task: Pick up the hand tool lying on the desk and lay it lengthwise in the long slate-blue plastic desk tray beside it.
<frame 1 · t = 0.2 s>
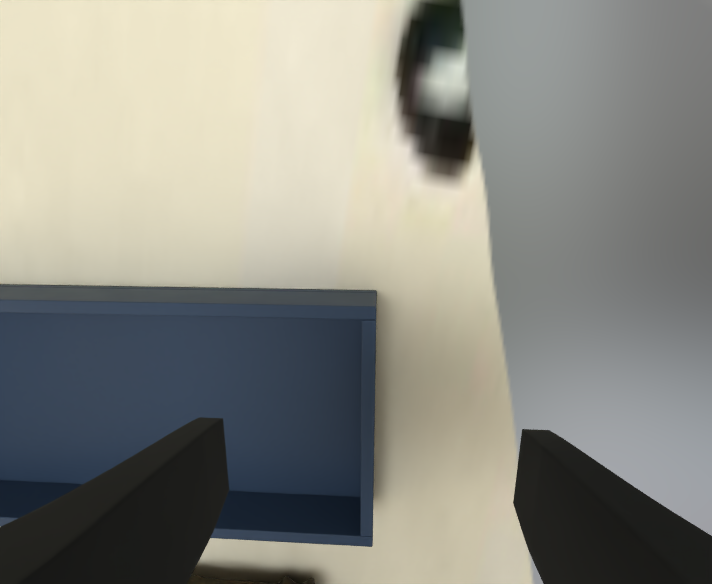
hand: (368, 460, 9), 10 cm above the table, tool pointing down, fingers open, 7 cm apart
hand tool: (173, 579, 23), on the table
desk tray: (144, 394, 20), on the table
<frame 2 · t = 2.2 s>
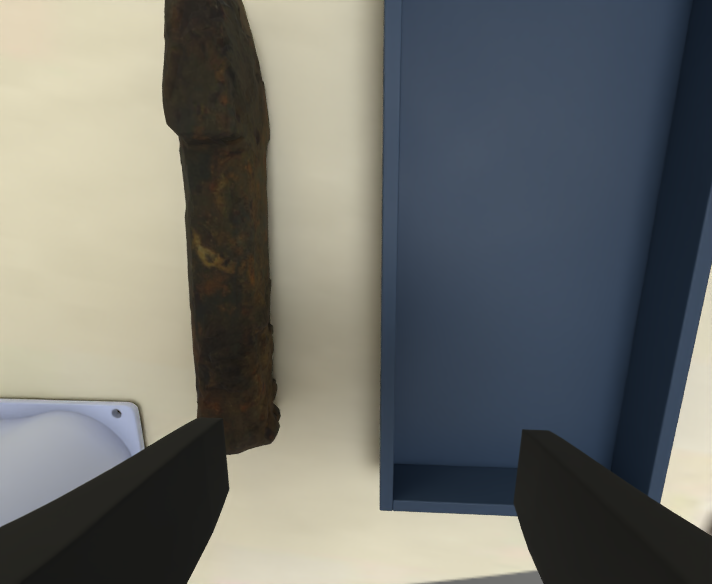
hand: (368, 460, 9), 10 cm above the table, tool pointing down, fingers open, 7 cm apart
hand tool: (237, 230, 18), on the table
desk tray: (517, 229, 17), on the table
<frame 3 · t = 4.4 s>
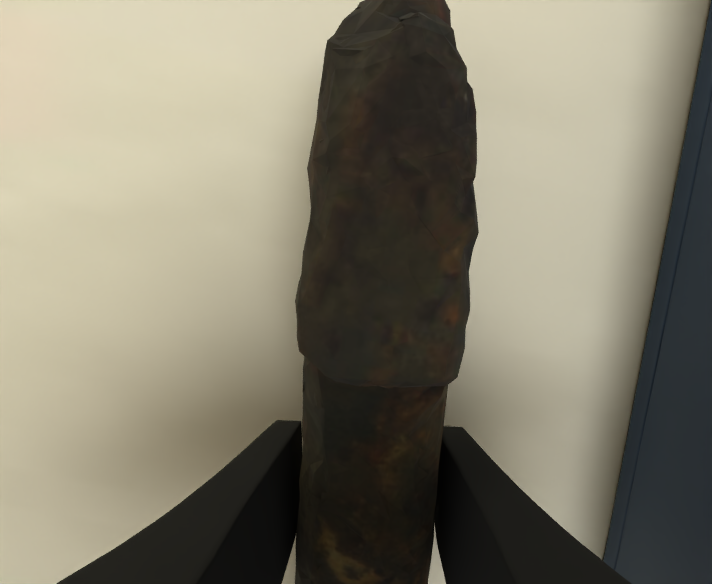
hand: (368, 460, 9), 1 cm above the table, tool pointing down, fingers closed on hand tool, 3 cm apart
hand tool: (352, 421, 11), on the table, touching gripper
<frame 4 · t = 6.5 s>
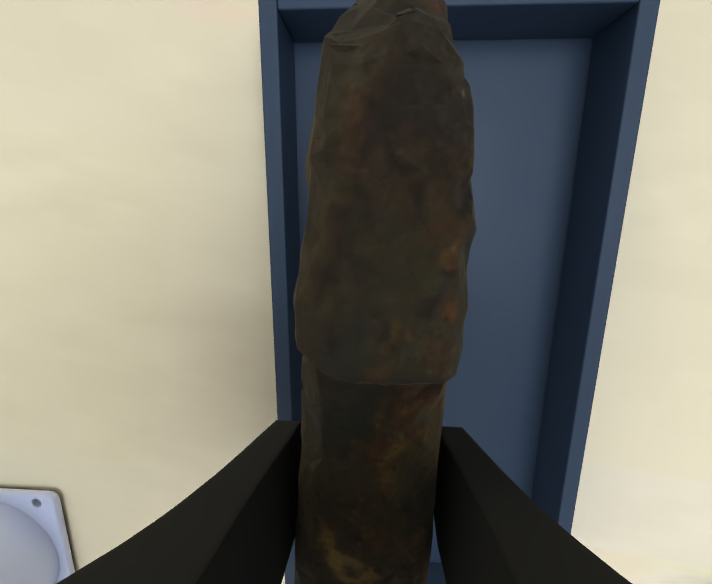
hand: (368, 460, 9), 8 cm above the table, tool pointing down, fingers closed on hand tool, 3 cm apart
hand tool: (351, 420, 10), point 7 cm above the table, touching gripper
desk tray: (423, 340, 17), on the table
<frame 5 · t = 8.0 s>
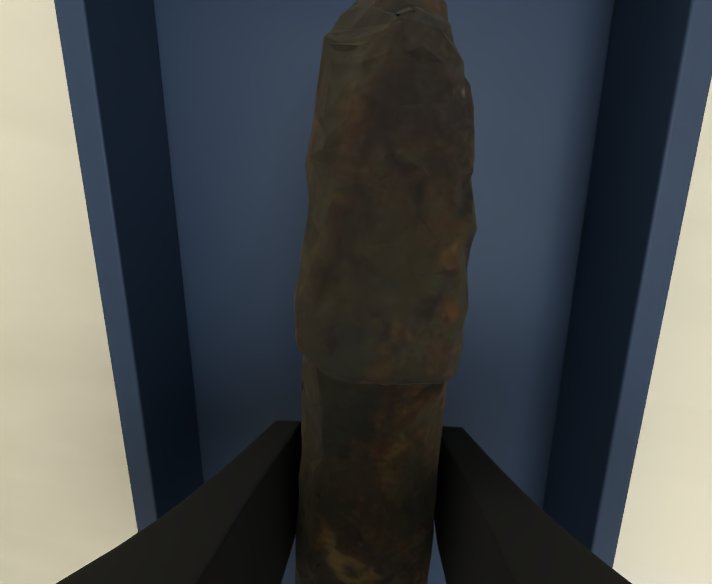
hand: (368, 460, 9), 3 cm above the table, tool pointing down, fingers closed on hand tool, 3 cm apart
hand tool: (352, 420, 10), point 1 cm above the table, touching gripper
desk tray: (371, 397, 12), on the table
when the fingers open (2 cm above the table, at t = 8.7 s): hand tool stays where it is, resting on desk tray.
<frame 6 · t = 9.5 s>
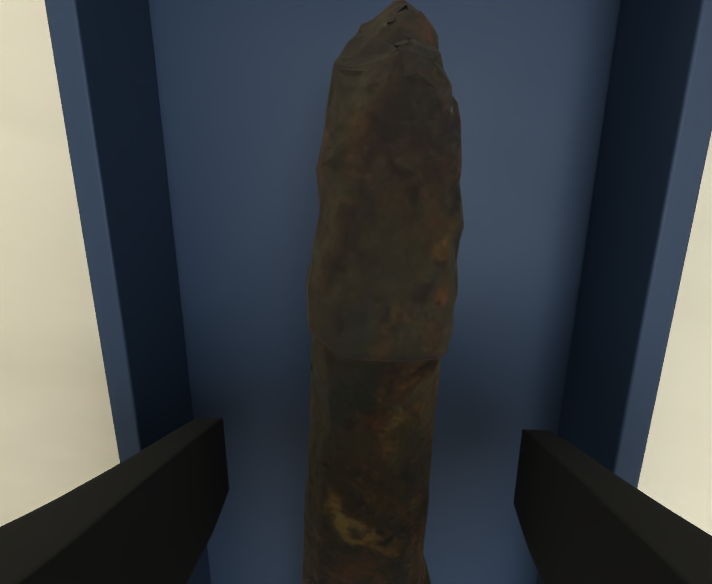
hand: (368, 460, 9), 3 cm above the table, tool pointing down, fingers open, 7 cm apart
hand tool: (354, 404, 11), resting on desk tray
desk tray: (371, 401, 12), on the table
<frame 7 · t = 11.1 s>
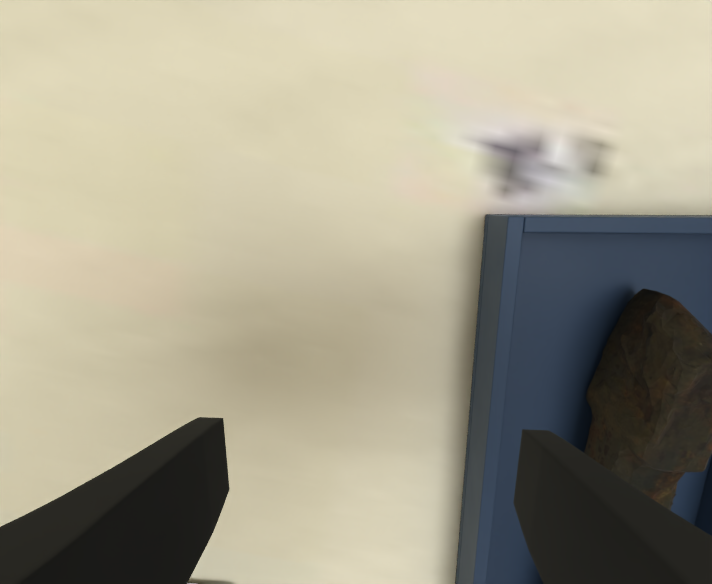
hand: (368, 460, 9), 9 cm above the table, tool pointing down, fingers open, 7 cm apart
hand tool: (578, 468, 19), resting on desk tray
desk tray: (585, 465, 19), on the table
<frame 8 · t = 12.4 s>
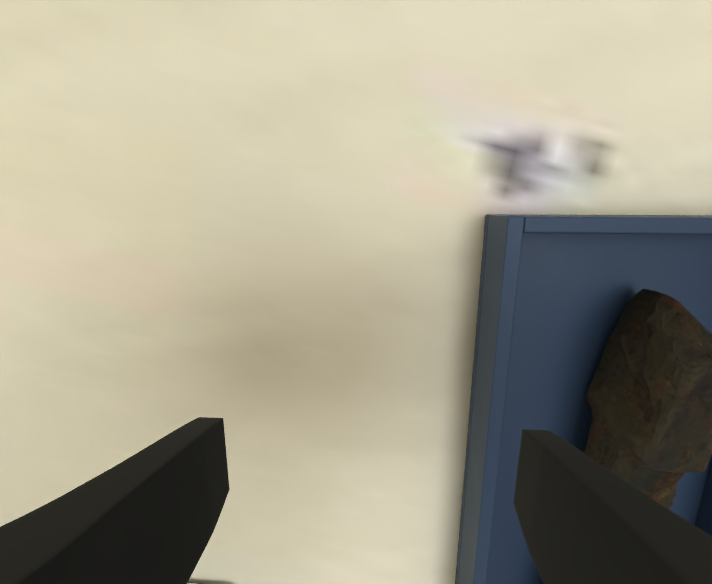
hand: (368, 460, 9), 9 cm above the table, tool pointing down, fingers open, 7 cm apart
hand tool: (578, 468, 19), resting on desk tray
desk tray: (585, 465, 19), on the table
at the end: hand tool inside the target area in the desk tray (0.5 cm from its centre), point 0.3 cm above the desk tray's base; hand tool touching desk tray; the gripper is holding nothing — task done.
